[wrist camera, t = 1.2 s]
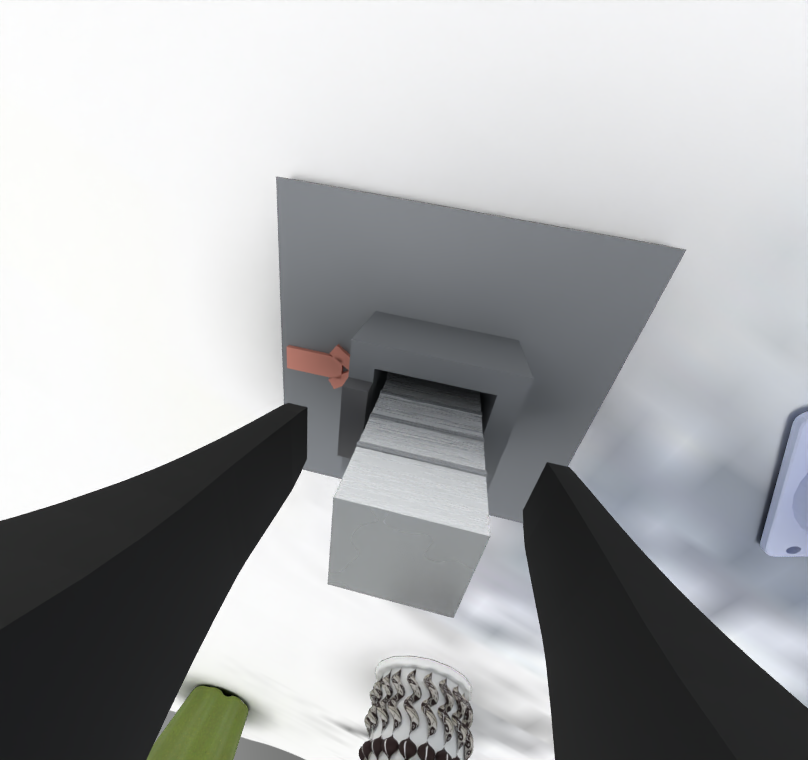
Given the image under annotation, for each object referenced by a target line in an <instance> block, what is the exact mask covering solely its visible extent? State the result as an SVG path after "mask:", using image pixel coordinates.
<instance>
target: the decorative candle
mask: <svg viewBox="0 0 808 760" xmlns="http://www.w3.org/2000/svg"><path fill="white" fill-rule="evenodd" d="M375 675H376V679H377V682H376V683H375V684H374V686H373V690H372V691H371V692H370V698H371V701H372V707H371V708H370V709H369V712H368V714H367V715H366V717H365V725H366V727H367V732H368V734H369V737H370V740H369V741H366V742H365V743H364V744H363V746H362V747H361V748H360V749H359V757H360V759H361V760H467V759H468V758H469V757H470V756H471V754H472V752H473V737H472V734H471V732H470V730H469V728H470V727H471V725H472V722H473V711H472V708H471V706H470V704H469V701H470V699H471V685H470V683H469V682H468V680H467V679H466V678H465V676H464V675H462V674H460V673H459V672H457V671H456V670H454V669H453V668H451V667H450V666H447V665H444V664H441V663H439V662H436V661H433V660H430V659H424V658H419V657H413V656H401V657H391V658H389V659H386V660H383V661H381V662H380V663H379V665H378V666H377V667H376V671H375Z"/></svg>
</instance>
